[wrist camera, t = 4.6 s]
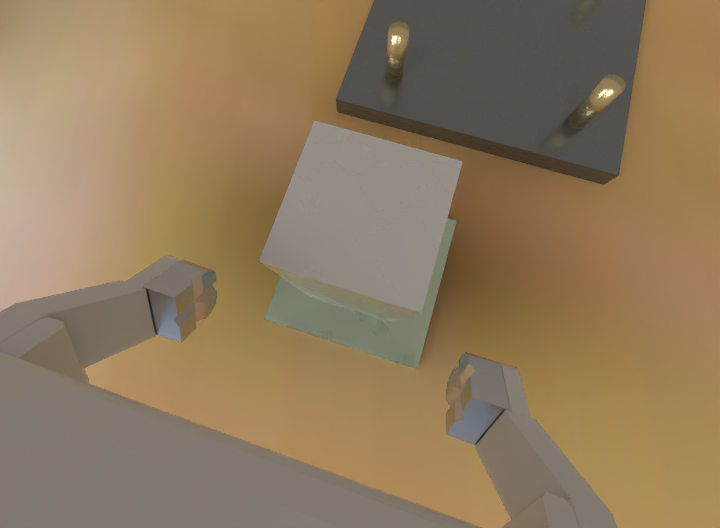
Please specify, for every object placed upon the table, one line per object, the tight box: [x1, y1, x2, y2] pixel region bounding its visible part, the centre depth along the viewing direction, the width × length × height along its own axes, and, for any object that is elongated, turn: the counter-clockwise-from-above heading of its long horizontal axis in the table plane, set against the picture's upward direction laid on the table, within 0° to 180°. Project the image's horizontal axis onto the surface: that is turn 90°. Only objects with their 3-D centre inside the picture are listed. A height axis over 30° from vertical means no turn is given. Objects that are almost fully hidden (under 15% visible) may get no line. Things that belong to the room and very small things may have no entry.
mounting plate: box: [336, 0, 646, 184], centre depth 21 cm, size 18×18×4 cm
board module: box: [259, 120, 463, 369], centre depth 14 cm, size 9×9×10 cm
